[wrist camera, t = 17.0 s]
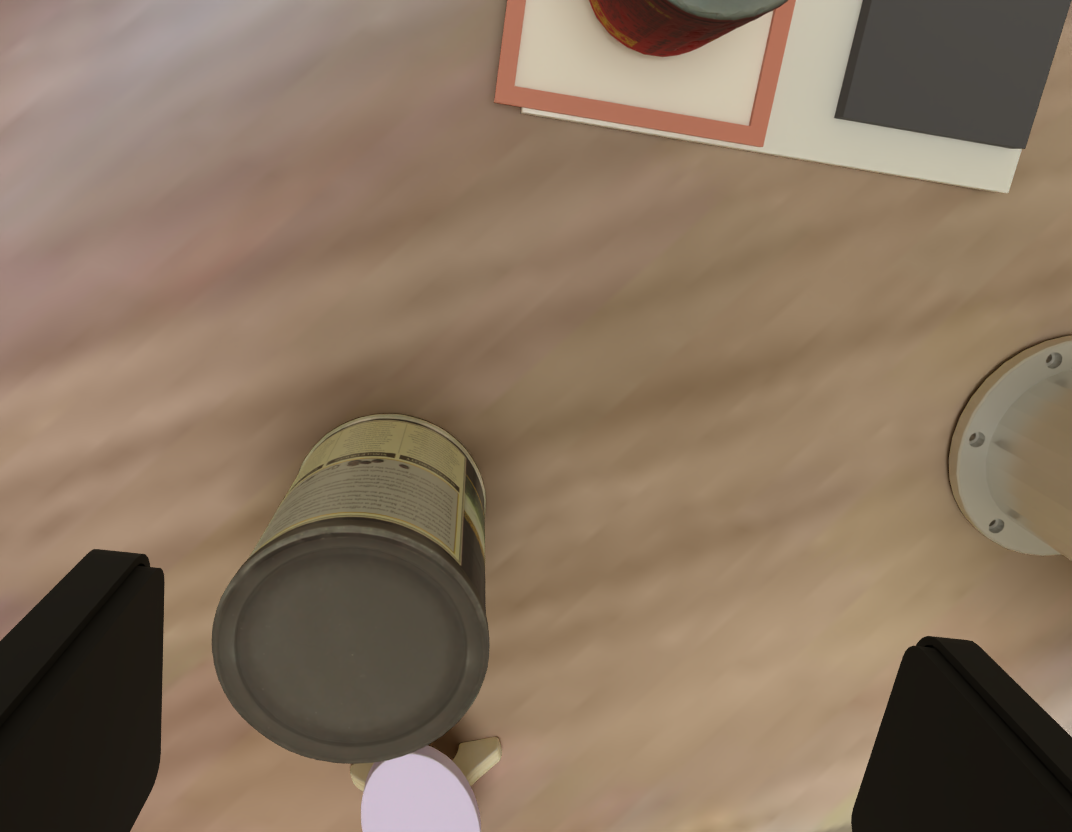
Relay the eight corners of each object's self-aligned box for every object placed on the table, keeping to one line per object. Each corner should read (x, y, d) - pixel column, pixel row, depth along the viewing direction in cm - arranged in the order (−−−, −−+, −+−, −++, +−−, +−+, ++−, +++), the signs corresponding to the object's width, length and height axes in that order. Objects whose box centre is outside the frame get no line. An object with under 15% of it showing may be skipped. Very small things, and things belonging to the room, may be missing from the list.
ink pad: (1076, -61, 37) (1092, -66, 36) (1011, 148, 39) (1024, 148, 38) (887, -99, 36) (898, -106, 35) (833, 118, 38) (842, 117, 37)
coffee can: (524, 520, 45) (542, 675, 31) (374, 619, 46) (330, 808, 33) (409, 372, 42) (375, 473, 28) (253, 482, 43) (149, 628, 30)
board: (1083, -101, 37) (1102, -109, 36) (993, 192, 41) (1008, 193, 40) (565, -209, 35) (568, -222, 34) (520, 113, 38) (521, 111, 37)
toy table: (500, 820, 51) (502, 899, 46) (354, 824, 50) (338, 905, 45) (502, 686, 48) (504, 753, 43) (347, 689, 47) (329, 758, 42)
